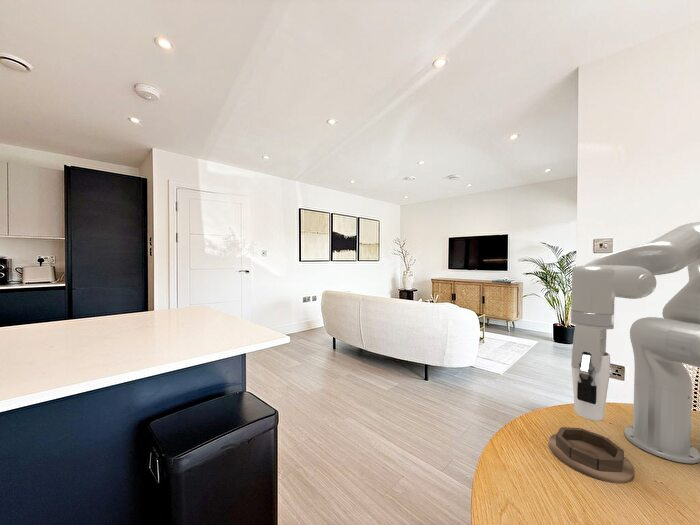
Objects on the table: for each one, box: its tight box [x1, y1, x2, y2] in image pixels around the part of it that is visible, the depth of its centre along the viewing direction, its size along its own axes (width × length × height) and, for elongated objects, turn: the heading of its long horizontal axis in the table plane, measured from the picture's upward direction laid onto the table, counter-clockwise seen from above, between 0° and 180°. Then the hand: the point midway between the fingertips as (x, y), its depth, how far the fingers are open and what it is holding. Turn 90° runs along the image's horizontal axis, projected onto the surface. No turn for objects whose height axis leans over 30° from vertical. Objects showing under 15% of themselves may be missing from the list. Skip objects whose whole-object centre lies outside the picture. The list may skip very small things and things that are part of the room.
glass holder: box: [548, 426, 635, 484], centre depth 65 cm, size 15×15×4 cm
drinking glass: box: [571, 347, 611, 422], centre depth 65 cm, size 7×7×15 cm
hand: (589, 396), depth 65 cm, fingers closed on drinking glass, 6 cm apart
